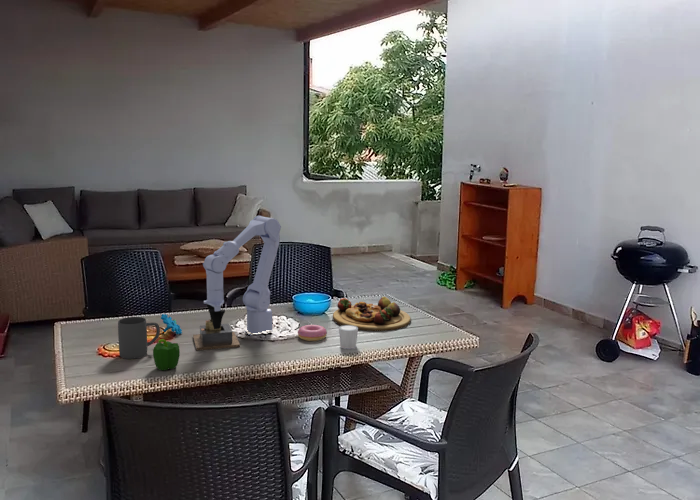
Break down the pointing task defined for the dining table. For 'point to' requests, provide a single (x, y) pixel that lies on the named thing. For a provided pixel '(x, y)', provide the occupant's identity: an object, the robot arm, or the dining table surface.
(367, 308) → the wooden plate with food
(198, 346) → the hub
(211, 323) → the keyed shaft
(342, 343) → the shot glass
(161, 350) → the bell pepper
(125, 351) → the mug
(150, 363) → the dining table surface
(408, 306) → the dining table surface
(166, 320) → the gear
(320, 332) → the doughnut
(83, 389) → the dining table surface
